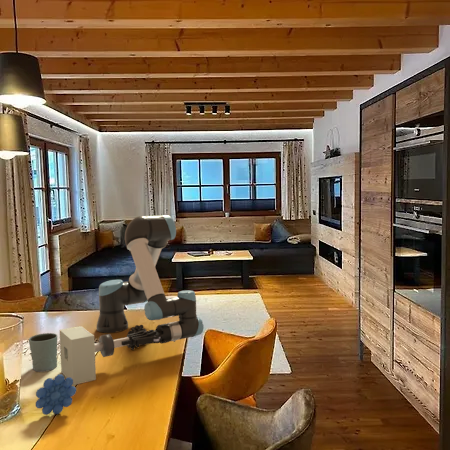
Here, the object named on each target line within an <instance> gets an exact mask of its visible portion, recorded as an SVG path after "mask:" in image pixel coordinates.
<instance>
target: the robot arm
mask: <svg viewBox="0 0 450 450" xmlns="http://www.w3.org/2000/svg"><path fill="white" fill-rule="evenodd" d="M176 235H177V227H176V222H175V221H174V218H173V217H172V216H170V215H168V214H166V215H165V214H161V215H160V214H159V215H157V214H156V215H140V216H136V217H134V218H133V219H131V221H130V222H129V223H128V224H127V226H126V229H125V232H124V242H125V245H126V249H127V250H129V252H130V254H131V257H132V259H133V263H134V265H135V271H134V273H132V274H131V275H130V276H129V278H128V281H124V280H122V279H110V280H107V281H104V282H102V283H100V284H99V286H98V303H99V316H98V319H97V322H96V325H95V326H96V331H97V332H99V333H103V334H104V333H106V334H111V333H119V332H123V331H125V330H127V329H128V328H129V322H128V319H127V317H126V314H125V306H131V305H137V304H143V303H145V305H144V309H143V310H144V315H145V317H146V319H148V320H149V321H159V320H162V319H167V318H168V319H169V318H174V317H178V320H177V321H172V322H167V323H162V324H158V325H157V326H156V328H155V329H149V330H147V329H146V328H143V329H144V330H142V331H139V332H136V333H133V334H129V335H128V334H126V337H121V338H116V339H113V341H114V349H116V348H122V347H124V346H125V347H127V345H134V346H135V347H136V346H138V345H139V346H144V345H151V344H166V343H167V344H168V343H169V342H176V341H178V340H183V339H188V338H194V337H197V336H199V335H202V333H203V332H204V328H205V327H204V323H203V320H202V318H201V317H198V315H197V297H196V292H195V291H194V290H181V291H178V292H177V296H175V297H171V298H167V297H166V294H165V292H164V288H163V286H162V282H161V280H160V277H159V274H158V272H157V269H156V265H157V263H158V260H159V258H160V254H161V252H162V249H164V248H165V247H167V244H168V242H169V241H173V240H175V238H176Z"/></svg>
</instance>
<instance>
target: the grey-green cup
mask: <svg viewBox="0 0 450 450" xmlns="http://www.w3.org/2000/svg"><path fill="white" fill-rule="evenodd" d="M28 343H29V350H30V356H31V360H32V362H31V363H32V369H33V371H34V372H49V371H52V370H54V369H55V368H57V366H58V358H57V356H58V334H56V333H55V332H54V333H53V332H47V333H45V332H44V333H40V334H35V335H32V336H30V337H29V338H28Z"/></svg>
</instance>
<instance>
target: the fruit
mask: <svg viewBox="0 0 450 450" xmlns="http://www.w3.org/2000/svg"><path fill="white" fill-rule="evenodd" d="M144 329H145V328H144V325H143V324H139V325H138V324H136V325H135V326H132V327H130V330H129V331H128V332H127V335H129V334H133V333H136V332H139V331H142V330H144ZM126 347H128V348H129V349H130V350H132V351H134V350H135V349H136V348H139V347H140V345H138V346H134V345H126Z"/></svg>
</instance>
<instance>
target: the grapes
mask: <svg viewBox="0 0 450 450" xmlns="http://www.w3.org/2000/svg"><path fill="white" fill-rule="evenodd" d="M76 392H77V387H75V385H73V379H72V378H70V377H69V378H65V375H64V374H63V373H61V374H57V375H56V376H55V377H54V379H53V378H52V377H49V378H46V379H45V380H44V382H43V386H42V387H39V388H38V389H37V390H36V392H35V396H36V397H37V398H38V399H37V400H36V401H35V407H36V408H37V409H40V410H41V411H42V412H41V413H42V414H43V415H45V416H47V415H50V414H51V413H53V414H54V415H59V414H60V413H62V411H63V409H64V408H68V407H70V406H72V403H73V398H72V397H73V396H75V395H76Z"/></svg>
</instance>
